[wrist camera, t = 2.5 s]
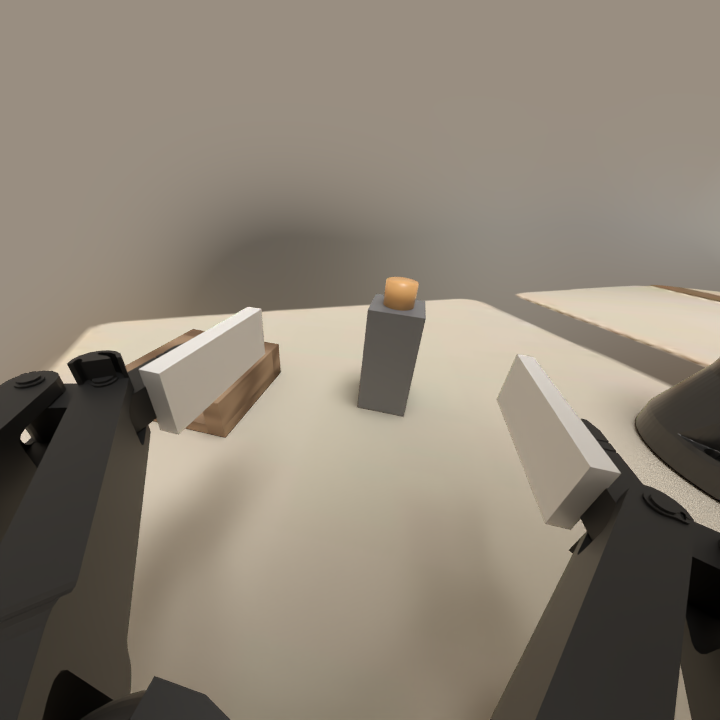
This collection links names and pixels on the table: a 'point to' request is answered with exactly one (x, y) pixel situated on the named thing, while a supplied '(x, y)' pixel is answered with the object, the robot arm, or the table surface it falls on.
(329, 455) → the table surface
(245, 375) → the holder
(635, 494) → the robot arm
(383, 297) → the connector plug
